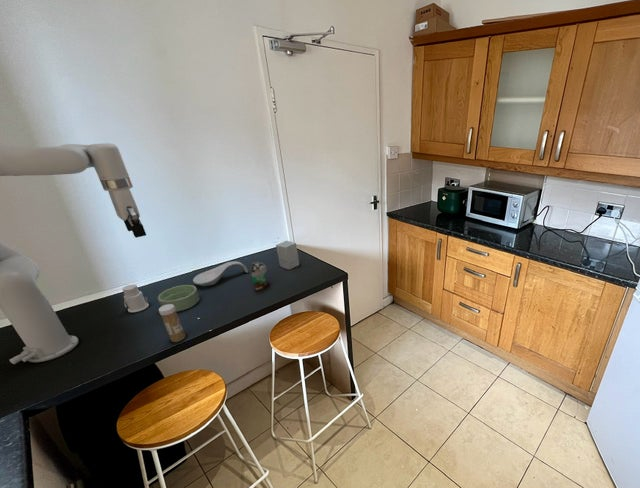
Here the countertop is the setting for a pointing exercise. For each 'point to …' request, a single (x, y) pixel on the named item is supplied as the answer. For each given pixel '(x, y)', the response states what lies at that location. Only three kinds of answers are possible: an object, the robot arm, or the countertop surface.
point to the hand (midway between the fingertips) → (137, 233)
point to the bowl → (180, 297)
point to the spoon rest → (215, 274)
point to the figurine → (259, 275)
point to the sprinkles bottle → (172, 322)
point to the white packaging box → (287, 254)
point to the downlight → (134, 299)
